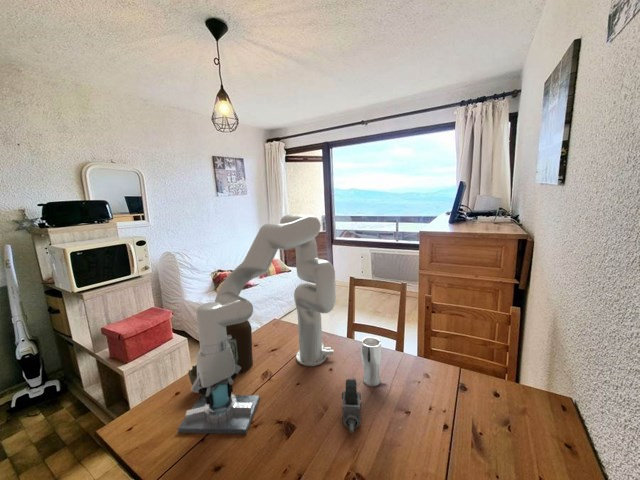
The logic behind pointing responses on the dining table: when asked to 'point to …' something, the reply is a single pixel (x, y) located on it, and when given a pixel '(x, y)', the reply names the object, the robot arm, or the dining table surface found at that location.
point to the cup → (193, 375)
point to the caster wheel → (351, 406)
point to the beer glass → (371, 360)
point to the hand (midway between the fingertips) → (219, 399)
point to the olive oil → (241, 344)
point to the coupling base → (224, 426)
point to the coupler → (220, 393)
